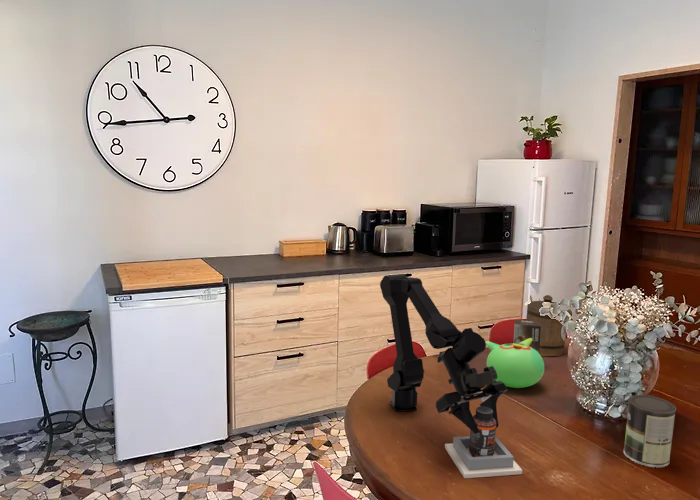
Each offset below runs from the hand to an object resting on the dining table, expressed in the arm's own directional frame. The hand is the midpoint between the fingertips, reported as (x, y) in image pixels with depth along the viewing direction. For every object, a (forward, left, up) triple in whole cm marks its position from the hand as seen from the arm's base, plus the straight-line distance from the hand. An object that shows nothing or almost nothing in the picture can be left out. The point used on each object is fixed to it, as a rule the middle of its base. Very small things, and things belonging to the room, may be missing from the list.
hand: (487, 430), depth 132 cm
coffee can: (+41, -2, -9) cm, 42 cm away
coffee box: (+40, +61, -8) cm, 73 cm away
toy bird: (+28, +45, -9) cm, 53 cm away
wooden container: (+55, +76, -9) cm, 94 cm away
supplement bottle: (0, +1, -7) cm, 7 cm away
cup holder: (0, +1, -8) cm, 8 cm away
